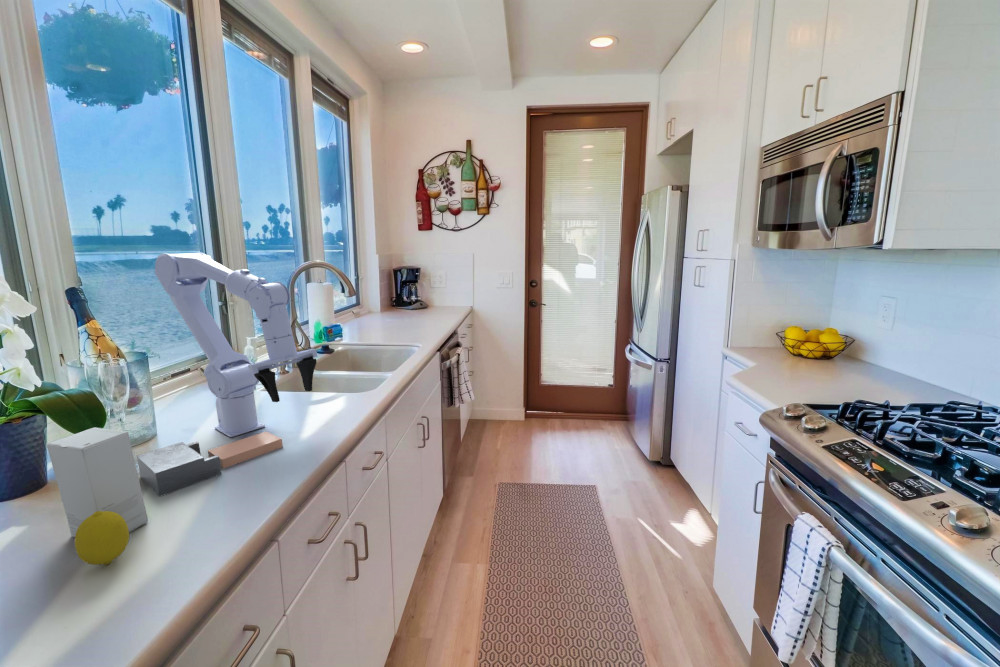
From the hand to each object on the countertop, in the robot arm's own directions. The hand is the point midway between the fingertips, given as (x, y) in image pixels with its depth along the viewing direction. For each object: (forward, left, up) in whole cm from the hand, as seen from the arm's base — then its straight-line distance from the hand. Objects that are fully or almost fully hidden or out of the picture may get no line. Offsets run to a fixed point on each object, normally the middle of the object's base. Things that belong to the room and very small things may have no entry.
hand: (292, 396), depth 102 cm
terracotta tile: (-1, -11, -10) cm, 15 cm away
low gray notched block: (-1, -22, -10) cm, 24 cm away
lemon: (+20, -38, -10) cm, 44 cm away
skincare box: (+10, -36, -10) cm, 38 cm away
